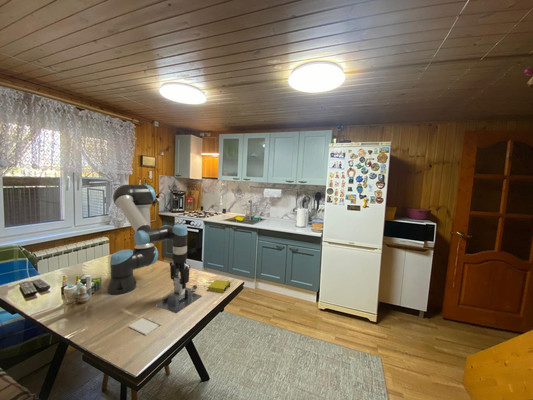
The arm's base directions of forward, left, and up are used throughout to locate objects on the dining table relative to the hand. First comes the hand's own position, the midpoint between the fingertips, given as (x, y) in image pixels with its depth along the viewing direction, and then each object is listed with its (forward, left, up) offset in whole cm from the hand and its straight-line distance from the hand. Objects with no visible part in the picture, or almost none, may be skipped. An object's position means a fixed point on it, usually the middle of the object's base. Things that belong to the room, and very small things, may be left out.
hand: (179, 292), depth 128 cm
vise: (0, +2, -5) cm, 6 cm away
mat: (+2, -19, -5) cm, 20 cm away
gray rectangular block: (0, +1, -3) cm, 3 cm away
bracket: (+9, +22, -6) cm, 25 cm away
